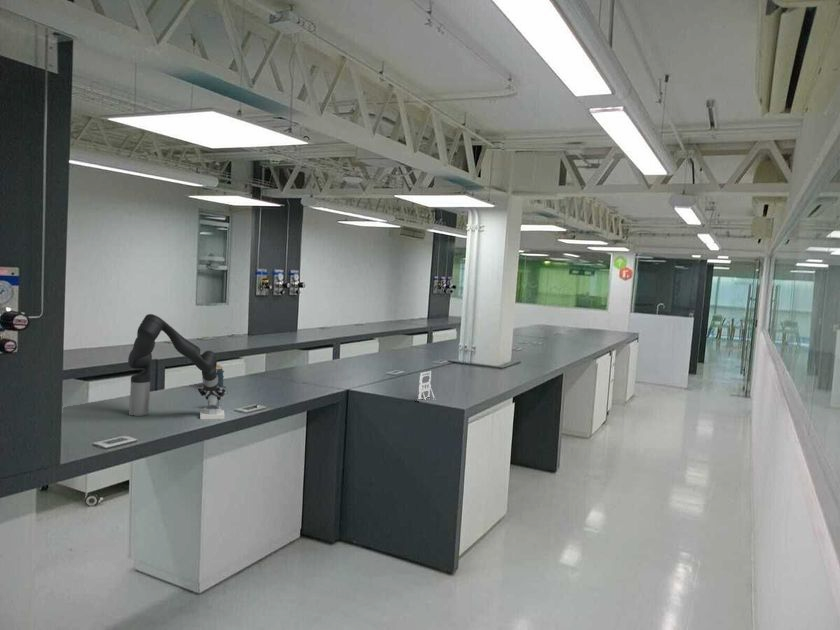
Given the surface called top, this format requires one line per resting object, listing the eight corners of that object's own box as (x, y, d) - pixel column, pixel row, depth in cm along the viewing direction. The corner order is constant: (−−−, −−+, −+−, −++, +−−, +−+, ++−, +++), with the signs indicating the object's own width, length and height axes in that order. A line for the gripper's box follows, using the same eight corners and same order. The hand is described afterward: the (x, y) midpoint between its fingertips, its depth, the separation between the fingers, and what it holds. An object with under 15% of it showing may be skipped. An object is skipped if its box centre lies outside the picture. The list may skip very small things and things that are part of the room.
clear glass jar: (209, 408, 318) (210, 390, 317) (205, 406, 322) (206, 388, 321) (219, 408, 321) (220, 389, 320) (215, 405, 325) (216, 387, 325)
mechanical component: (207, 409, 335) (208, 392, 335) (224, 408, 343) (225, 390, 342) (210, 410, 333) (210, 393, 333) (227, 409, 340) (228, 391, 340)
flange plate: (200, 419, 314) (200, 410, 314) (200, 413, 325) (200, 405, 325) (224, 418, 318) (224, 410, 318) (223, 413, 329) (224, 405, 329)
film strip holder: (419, 398, 407) (421, 369, 406) (437, 401, 400) (439, 371, 399) (408, 401, 394) (410, 371, 393) (426, 405, 388) (428, 374, 386)
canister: (197, 388, 390) (199, 361, 389) (214, 386, 401) (215, 360, 400) (210, 392, 383) (212, 364, 382) (227, 389, 394) (228, 362, 392)
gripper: (194, 386, 307) (198, 404, 319) (224, 387, 309) (226, 405, 322) (197, 374, 312) (200, 392, 324) (226, 375, 314) (228, 393, 327)
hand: (213, 398), depth 323 cm, fingers closed on clear glass jar, 5 cm apart
